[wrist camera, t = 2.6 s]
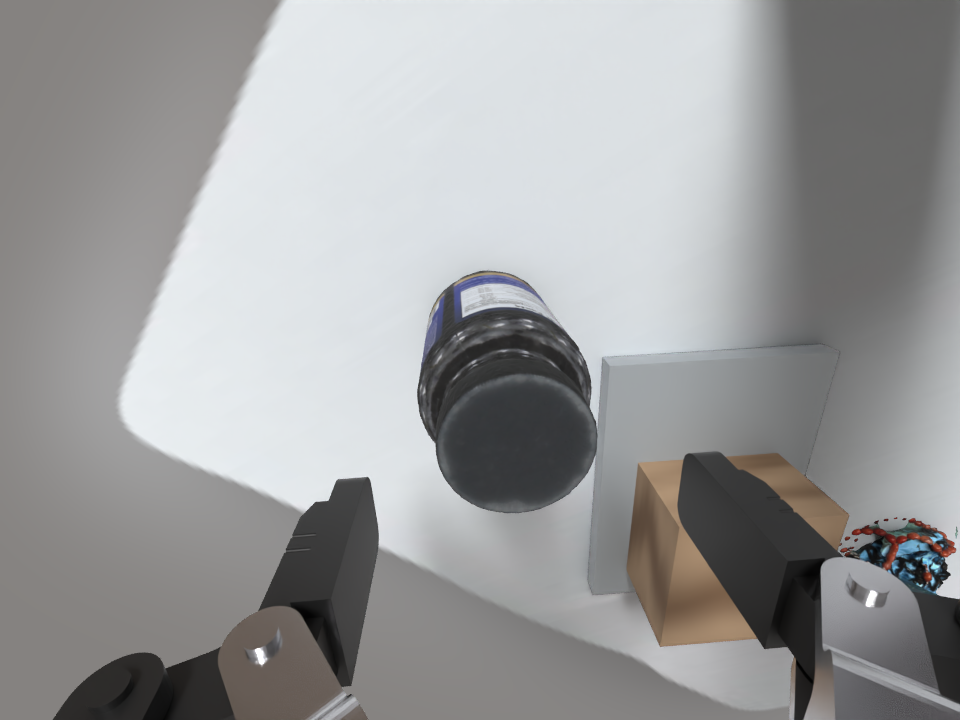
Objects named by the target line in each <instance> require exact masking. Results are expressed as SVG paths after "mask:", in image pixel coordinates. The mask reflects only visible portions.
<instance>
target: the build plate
mask: <svg viewBox="0 0 960 720" xmlns="http://www.w3.org/2000/svg"><path fill="white" fill-rule="evenodd" d="M839 355H840V352H839V351H837V350H835V349H833V348H831V347H828V346H826V345H824V344H812V345H795V346H779V347H762V348H746V349H730V350H713V351H697V352H680V353H664V354H648V355H631V356H615V357H603V360H602V375H601V390H600V404H599V419H598V434H597V435H598V437H597V450H596V464H595V479H594V494H593V509H592V524H591V539H590V554H589V569H588V582H589V585H590V588H591V591H592V594H593V595H602V594H614V593H627V592H636V591H635V588H634V586H633V584H632V582H631V579H630V577H629V575H628V572H627V570H626V567H627V558H628V549H629V540H630V531H631V522H632V513H633V504H634V495H635V486H636V477H637V467H638V463H641V462H655V461H670V460H683V459H684V457H685V455H686V454H688V453H699V452H712V451H718V452H721V453H722V454H723V455H724V456H725V457H727V456H741V455H756V454H770V453H778V454H780V455H781V456H782V457H783V458H784V459H785V460H787V461H788V462H789V463H790V464H791V465H792V466H794V467H795V468H796V469H797V470H798V471H799V472H800V473H802V474H803V475H804V476H805V474H806V471H807V467H808V464H809V460H810V457H811V453H812V450H813V446H814V443H815V439H816V436H817V432H818V429H819V425H820V422H821V418H822V414H823V411H824V407H825V404H826V400H827V397H828V393H829V390H830V386H831V383H832V379H833V376H834V372H835V369H836V365H837V362H838V358H839Z"/></svg>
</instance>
